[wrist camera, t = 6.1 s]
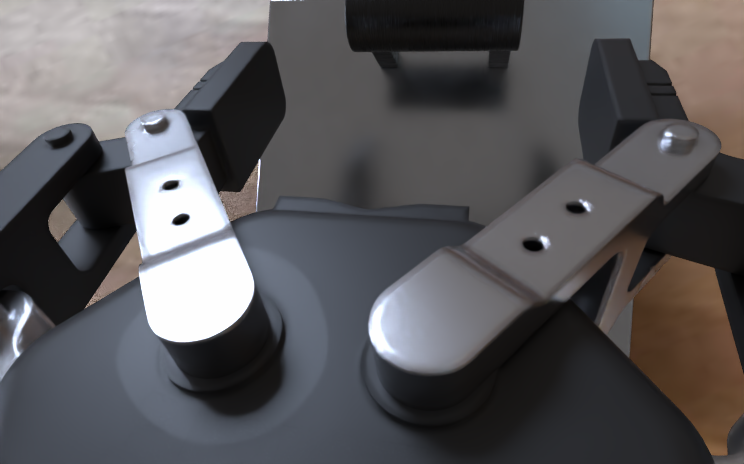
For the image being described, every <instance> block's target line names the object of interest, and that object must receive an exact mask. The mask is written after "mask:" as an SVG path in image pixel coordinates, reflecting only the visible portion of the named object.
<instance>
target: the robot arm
mask: <svg viewBox="0 0 744 464" xmlns="http://www.w3.org/2000/svg"><path fill="white" fill-rule="evenodd" d="M285 113H286V98H285V93H284V89H283V85H282V80H281V76H280V72H279V68H278V64H277V60H276V56H275V52H274V49H273V47H272V45H271V44H270V43H269V42H241V43H240V44H239V45H238V46H237V47H236V48H235V49H234V50H233V51H232V53H231V54H230V55H229V56H228V57H227V58H226V59H225V61H223V62H221V63H220V64H218V65H216V66H215V67H213V68H211V69H210V70H209V71H208V72H207V73H206V74H205V75H204V76H203V77H202V78H201V80H200V82H198V83H197V84H196V85H195V86H194V87H193V90H191V91H190V92H189V93H188V94H187V95H186V96H185V97H184V99H183V100H182V101H181V102H180V103H179V104H178V105H177V106H176V107H175V109H163V110H157V111H153V112H150V113H147V114H145V115H142V116H140V117H139V118H137V119H135V120H134V121H133V122H131V123H130V124H129V125H128V127H127V128H126V131H125V136H126V137H124V138H118V139H112V140H106V141H100V142H99V141H98V139H97V138H96V136H95V134H94V132H93V130H92V129H91V127H90V126H88V125H86V124H82V123H74V124H67V125H62V126H59V127H56V128H54V129H51V130H49V131H47V132H45V133H43V134H41V135H40V136H39V137H37V138H36V139H35V140H34V141H33V142H31V143H30V144H29V145H28V146H27V147H26V148H25V149H24V150H23V151H22V152H21V153H20V154H19V155H18V156H16V157H15V158H14V159H13V160H12V161H11V162H10V163H9V164H8V165H7V166H6V167H5V168H4V169H2V170H1V171H0V464H744V413H743V415H742V416H741V417H740V418H739V419H738V420H737V421H736V422H735V424H734V425H733V426H732V427H731V429H730V431H729V433H728V439H727V448H728V455H727V456H714V455H711V453H710V451H709V450H708V448H707V446H706V444H705V442H704V440H703V439H702V437H701V435H700V434H699V432H698V431H697V430H696V428H695V427H694V426H693V424H692V423H691V422H690V421H689V419H688V418H687V417H686V416H685V415H684V414H683V413H682V412H681V410H680V409H679V408H678V407H677V406H676V405H675V404H674V403H673V402H672V401H671V400H670V399H669V398H668V397H667V396H666V395H665V394H664V393H663V392H662V391H661V390H660V389H659V388H658V387H657V386H656V385H655V384H654V383H653V382H652V381H651V380H650V379H649V378H648V377H647V376H646V375H645V374H644V373H643V372H642V371H641V370H640V369H639V368H638V367H637V366H636V365H635V364H634V363H633V362H632V361H631V360H630V359H629V357H628V356H627V355H626V354H625V353H624V352H623V351H622V350H621V349H620V348H619V347H618V346H617V345H616V344H615V343H614V342H613V341H612V340H611V339H610V338H609V337H608V336H607V333H608V332H609V330H610V329H611V327H612V326H613V324H614V322H615V321H616V319H617V317H618V316H619V314H620V313H621V311H622V310H623V309H624V308H625V306H626V305H627V304H628V303H629V302H630V301H631V300H632V299H633V298H634V297H635V296H636V294H637V293H638V292H639V291H640V290H641V289H642V288H643V287H644V286H645V285H646V284H647V283H648V282H649V280H650V279H651V278H652V277H653V276H654V275H655V274H656V273H657V272H658V271H659V270H660V269H661V268H662V266H663V265H664V264H665V263H666V262H667V261H668V260H669V259H670V257H671V256H675V257H679V258H682V259H686V260H689V261H692V262H696V263H699V264H703V265H706V266H710V267H713V268H715V272H716V276H717V280H718V283H719V287H720V291H721V294H722V298H723V301H724V305H725V308H726V312H727V316H728V319H729V323H730V326H731V330H732V334H733V337H734V341H735V344H736V348H737V351H738V355H739V359H740V362H741V366H742V369H743V373H744V159H740V158H735V157H731V156H728V155H725V154H722V153H720V149H721V142H720V139H719V138H718V136H717V135H716V134H715V133H713V132H712V131H711V130H709V129H708V128H706V127H704V126H702V125H699V124H696V123H693V122H690V121H688V118H687V116H686V114H685V111H684V109H683V107H682V105H681V102H680V100H679V98H678V96H676V91H675V89H674V87H673V86H672V82H671V80H670V78H669V75H668V73H667V71H666V70H665V69H663V68H662V67H661V66H659V65H658V64H656V63H655V62H654V61H652V60H638V58H637V56H636V53H635V50H634V47H633V45H632V42H631V40H630V39H629V38H615V39H595V40H594V41H593V44H592V47H591V51H590V56H589V60H588V65H587V70H586V75H585V79H584V84H583V89H582V94H581V98H580V104H579V112H578V128H579V134H580V140H581V147H582V153H583V159H584V160H583V159H581V158H575V159H573V160H572V161H570V162H569V163H567V164H566V165H565V166H564V167H562V168H561V169H560V170H558V171H557V172H556V173H555V174H553V175H552V176H551V177H549V178H548V179H547V180H546V181H544V182H543V183H542V184H540V185H539V186H538V187H537V188H535V189H534V190H533V191H531V192H530V193H529V194H528V195H526V196H525V197H524V198H522V199H521V200H520V201H519V202H517V203H516V204H515V205H513V206H512V207H511V208H510V209H508V210H507V211H506V212H504V213H503V214H502V215H501V216H499V217H498V218H497V219H496V220H494V221H493V222H492V223H490V224H489V225H488V226H484V225H481V224H479V223H476V222H472V221H469V206H452V205H435V204H413V205H404V206H395V207H387V208H378V209H364V208H360V207H356V206H352V205H348V204H344V203H340V202H336V201H333V200H329V199H325V198H312V197H294V196H279V198H278V200H277V202H276V204H275V206H274V208H273V209H268V210H263V211H259V212H255V213H252V214H248V215H246V216H243V217H240V218H238V219H236V220H234V221H232V222H230V221H229V219H228V216H227V214H226V211H225V209H224V207H223V204H222V202H221V199H220V197H219V195H218V194H219V192H220V191H228V192H241V190H242V188H243V187H244V185H245V183H246V182H247V180H248V178H249V176H250V175H251V173H252V171H253V170H254V168H255V166H256V165H257V163H258V161H259V160H260V158H261V156H262V155H263V153H264V151H265V149H266V148H267V146H268V144H269V143H270V141H271V139H272V138H273V136H274V134H275V133H276V131H277V129H278V128H279V126H280V124H281V122H282V121H283V119H284V117H285ZM62 199H63V200H64V201H65V202H66V204H67V205H68V207H69V208H70V210H71V211H72V213H73V214H74V215H75V217H76V218H77V220H76V221H75V222H74V223H73V225H72V226H71V227H70V228H69V229H68V231H67V232H66V233H65V234H64V236H63V237H62V238H61V239H60V241H59V242H57V241H56V240H55V239H54V237H53V236H52V234H51V233H50V231H49V227H48V220H49V216H50V214H51V212H52V211H53V210H54V208H55V207H56V206H57V205H58V204H59V203H60V202H61V200H62ZM136 231H137V235H138V240H139V245H140V250H141V255H142V264H140V265H139V277H137V278H136V279H134V280H132V281H131V282H129V283H127V284H126V285H124V286H122V287H121V288H119V289H117V290H116V291H114V292H112V293H111V294H109V295H107V296H106V297H104V298H102V299H101V300H99V301H97V302H96V303H94V304H92V305H91V306H89V307H87V308H86V309H84V308H85V307H86V305H87V304H88V302H89V301H90V299H91V298H92V296H93V295H94V294H95V292H96V291H97V289H98V288H99V286H100V285H101V283H102V282H103V280H104V279H105V277H106V276H107V274H108V273H109V271H110V270H111V268H112V267H113V265H114V264H115V262H116V261H117V259H118V258H119V256H120V255H121V253H122V252H123V250H124V249H125V247H126V246H127V244H128V243H129V241H130V240H131V238H132V237H133V235H134V234H135V232H136Z"/></svg>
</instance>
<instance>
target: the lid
mask: <svg viewBox="0 0 744 464" xmlns="http://www.w3.org/2000/svg"><path fill="white" fill-rule="evenodd" d="M653 6H654V0H271V1H270V11H269V25H268V40H267V42H269V43H270V44H271V45H272V47H273V49H274V52H275V56H276V60H277V64H278V68H279V72H280V76H281V80H282V85H283V89H284V93H285V98H286V113H285V117H284V119H283V121H282V122H281V124H280V126H279V128H278V129H277V131H276V133H275V134H274V136H273V138H272V139H271V141H270V143H269V144H268V146H267V148H266V149H265V151H264V153H263V155H262V156H261V158H260V160H259V173H258V188H257V202H256V212H259V211H263V210H268V209H273V208H274V206H275V204H276V202H277V200H278V198H279V196H294V197H312V198H325V199H329V200H333V201H336V202H340V203H344V204H348V205H352V206H356V207H360V208H364V209H378V208H387V207H395V206H404V205H413V204H435V205H452V206H469V221H472V222H476V223H479V224H481V225H484V226H488V225H489V224H490V223H492V222H493V221H494V220H496V219H497V218H498V217H499V216H501V215H502V214H503V213H504V212H506V211H507V210H508V209H510V208H511V207H512V206H513V205H515V204H516V203H517V202H519V201H520V200H521V199H522V198H524V197H525V196H526V195H528V194H529V193H530V192H531V191H533V190H534V189H535V188H537V187H538V186H539V185H540V184H542V183H543V182H544V181H546V180H547V179H548V178H549V177H551V176H552V175H553V174H555V173H556V172H557V171H558V170H560V169H561V168H562V167H564V166H565V165H566V164H567V163H569V162H570V161H572V160H573V159H575V158H581V159H583V153H582V147H581V140H580V134H579V128H578V112H579V104H580V98H581V94H582V89H583V84H584V79H585V75H586V70H587V65H588V60H589V56H590V51H591V47H592V44H593V41H594V40H595V39H615V38H629V39H630V40H631V42H632V45H633V47H634V50H635V53H636V56H637V58H638V60H650V50H651V36H652V21H653ZM583 160H584V159H583ZM633 301H634V298H633V299H632V300H631V301H630V302H629V303H628V304H627V305H626V306H625V308H624V309H623V310H622V311H621V313H620V314H619V316H618V317H617V319H616V321H615V322H614V324H613V326H612V327H611V329H610V330H609V332H608V333H607V336H608V337H609V338H610V339H611V340H612V341H613V342H614V343H615V344H616V345H617V346H618V347H619V348H620V349H621V350H622V351H623V352H624V353H625V354H626V355H627V356H628V357H629V359H630V345H631V330H632V316H633Z"/></svg>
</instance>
